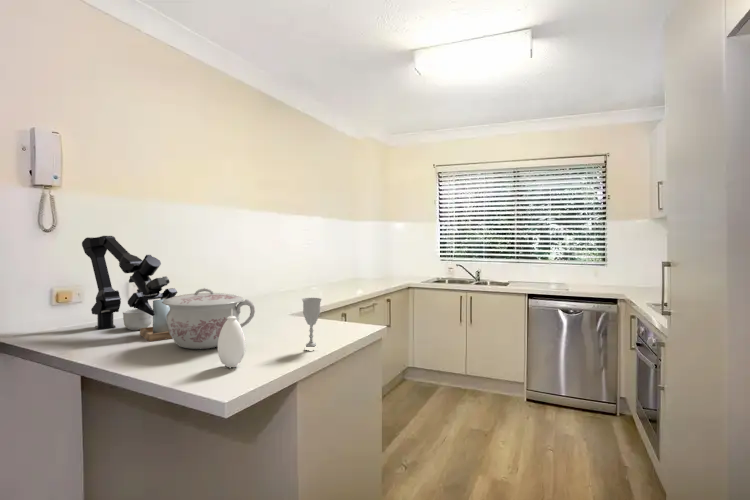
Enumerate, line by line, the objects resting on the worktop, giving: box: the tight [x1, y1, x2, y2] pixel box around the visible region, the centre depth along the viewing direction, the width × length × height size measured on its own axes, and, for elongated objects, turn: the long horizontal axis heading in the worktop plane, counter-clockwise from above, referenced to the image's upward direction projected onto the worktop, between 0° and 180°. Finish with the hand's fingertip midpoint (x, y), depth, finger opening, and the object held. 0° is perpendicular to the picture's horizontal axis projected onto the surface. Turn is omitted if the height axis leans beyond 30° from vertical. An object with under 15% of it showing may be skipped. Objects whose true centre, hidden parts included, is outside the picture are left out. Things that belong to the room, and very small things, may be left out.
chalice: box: [301, 297, 323, 347], centre depth 148 cm, size 7×7×18 cm
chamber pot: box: [162, 287, 256, 351], centre depth 152 cm, size 28×28×21 cm
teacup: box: [122, 308, 153, 331], centre depth 178 cm, size 14×11×8 cm
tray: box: [139, 326, 173, 343], centre depth 164 cm, size 14×12×3 cm
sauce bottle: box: [217, 309, 246, 368], centre depth 127 cm, size 8×8×18 cm
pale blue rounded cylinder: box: [152, 299, 170, 334], centre depth 164 cm, size 6×6×13 cm
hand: (164, 313), depth 164 cm, fingers open, 9 cm apart
